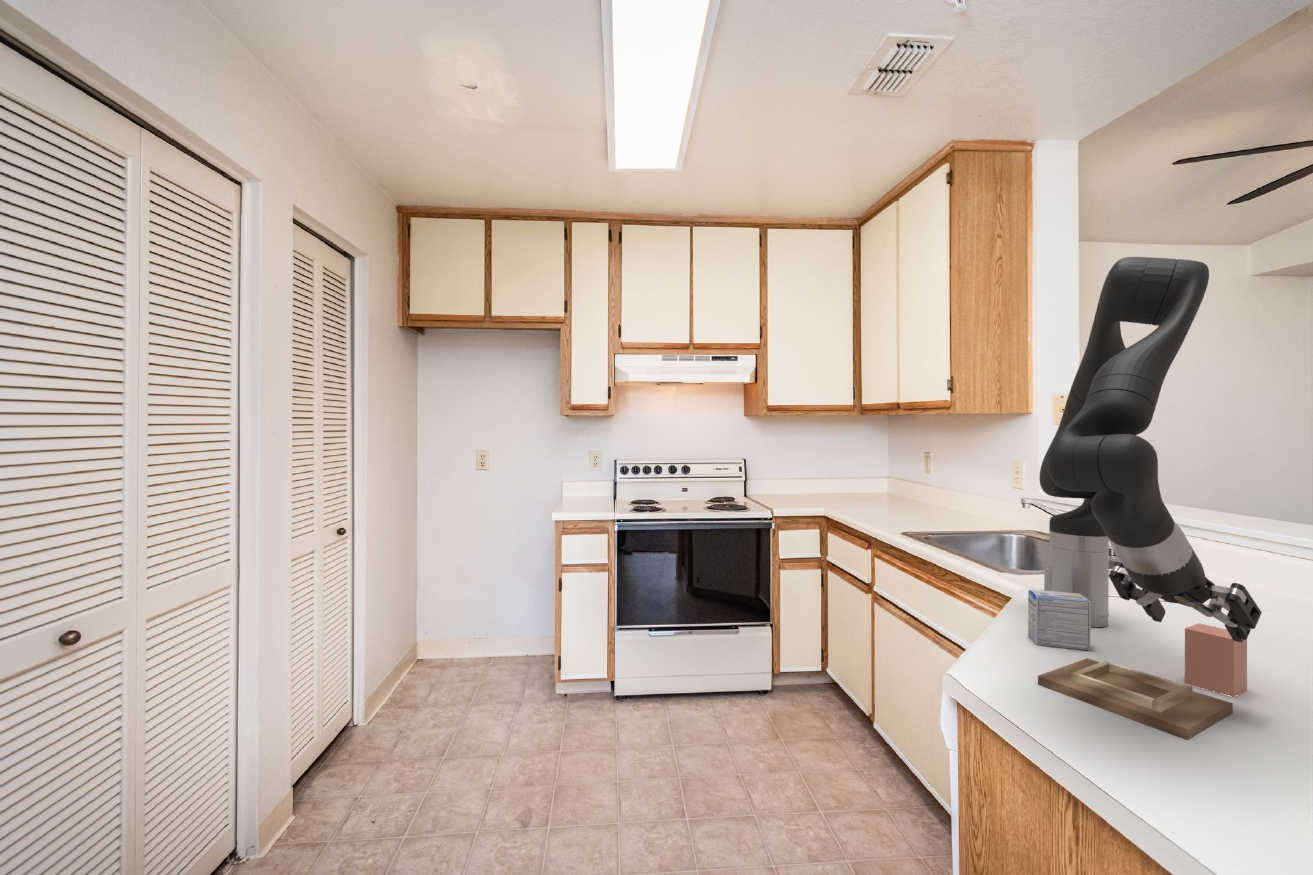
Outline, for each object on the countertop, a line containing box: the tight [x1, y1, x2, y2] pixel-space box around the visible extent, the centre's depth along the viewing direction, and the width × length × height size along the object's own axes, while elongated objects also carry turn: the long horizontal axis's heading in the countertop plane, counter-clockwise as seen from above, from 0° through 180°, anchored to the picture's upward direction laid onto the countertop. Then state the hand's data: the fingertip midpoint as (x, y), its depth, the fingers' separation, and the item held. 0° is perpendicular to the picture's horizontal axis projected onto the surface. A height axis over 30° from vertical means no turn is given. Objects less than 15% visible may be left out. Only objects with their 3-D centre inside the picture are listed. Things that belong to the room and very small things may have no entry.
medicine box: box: [1027, 589, 1092, 651], centre depth 92 cm, size 8×4×9 cm, turn 71°
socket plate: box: [1037, 658, 1234, 741], centre depth 73 cm, size 16×14×2 cm
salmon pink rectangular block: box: [1184, 623, 1248, 698], centre depth 76 cm, size 5×5×8 cm
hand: (1198, 626), depth 75 cm, fingers open, 8 cm apart
